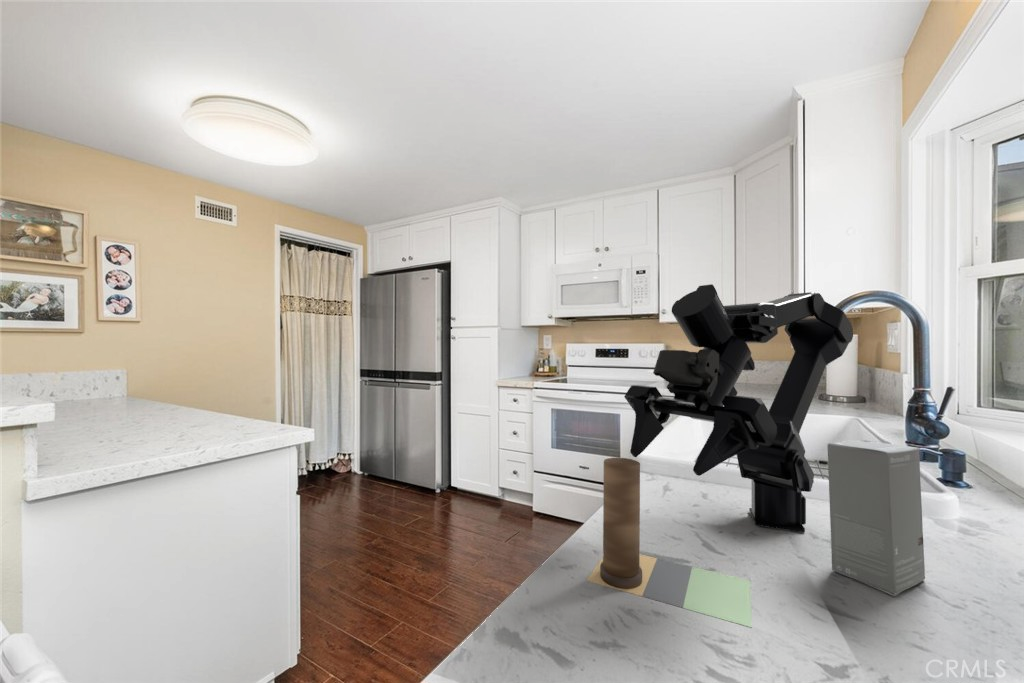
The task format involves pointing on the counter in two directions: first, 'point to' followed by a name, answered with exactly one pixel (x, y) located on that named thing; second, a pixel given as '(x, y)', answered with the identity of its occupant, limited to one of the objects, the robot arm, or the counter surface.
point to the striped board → (691, 589)
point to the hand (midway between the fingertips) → (662, 463)
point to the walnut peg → (621, 524)
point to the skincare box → (876, 514)
